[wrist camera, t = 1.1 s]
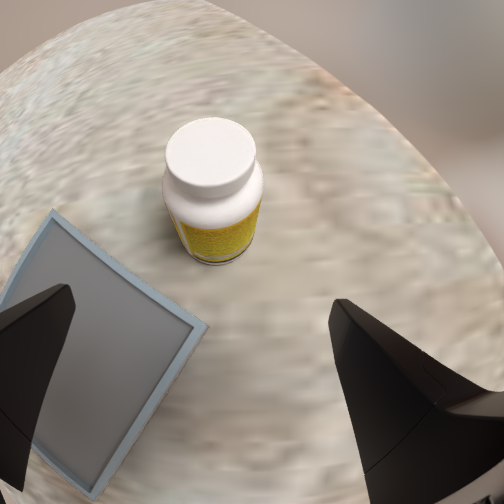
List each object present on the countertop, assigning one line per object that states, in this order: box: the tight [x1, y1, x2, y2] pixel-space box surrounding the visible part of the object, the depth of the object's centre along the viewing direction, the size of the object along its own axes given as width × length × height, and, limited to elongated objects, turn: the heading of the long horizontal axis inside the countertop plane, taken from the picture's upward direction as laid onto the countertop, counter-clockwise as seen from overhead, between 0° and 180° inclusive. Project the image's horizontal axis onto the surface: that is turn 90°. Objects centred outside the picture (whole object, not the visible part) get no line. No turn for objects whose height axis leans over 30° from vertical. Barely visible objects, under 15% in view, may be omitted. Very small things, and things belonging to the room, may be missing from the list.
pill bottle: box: [162, 117, 264, 265], centre depth 18 cm, size 6×6×11 cm
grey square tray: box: [0, 208, 210, 501], centre depth 17 cm, size 18×16×4 cm
